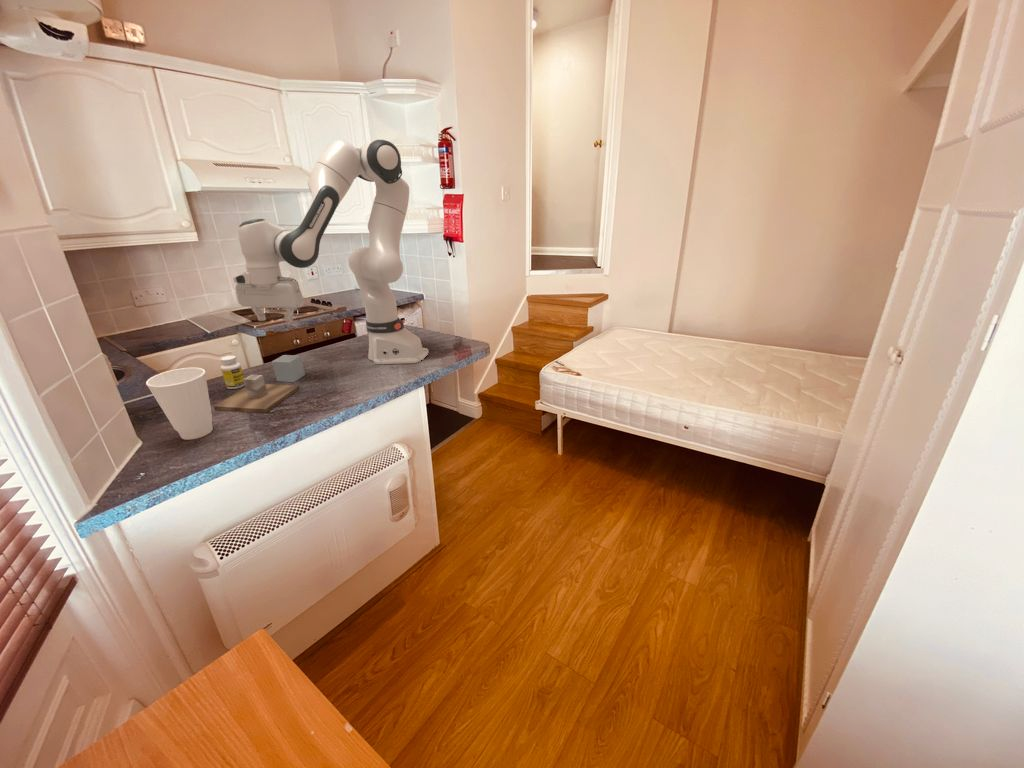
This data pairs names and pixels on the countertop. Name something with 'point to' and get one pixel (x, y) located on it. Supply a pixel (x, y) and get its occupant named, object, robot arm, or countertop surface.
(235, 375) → the supplement bottle
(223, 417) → the countertop surface
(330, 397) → the countertop surface
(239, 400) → the post base
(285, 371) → the pale grey cube
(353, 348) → the countertop surface
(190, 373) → the cup
